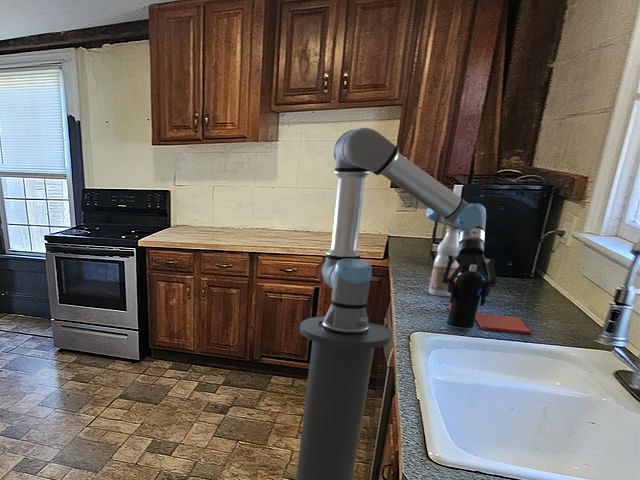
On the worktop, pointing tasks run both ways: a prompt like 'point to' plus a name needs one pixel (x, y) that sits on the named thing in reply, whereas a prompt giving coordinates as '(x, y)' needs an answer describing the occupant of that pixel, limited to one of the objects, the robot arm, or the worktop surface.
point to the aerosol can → (466, 299)
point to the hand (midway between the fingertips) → (467, 301)
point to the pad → (502, 323)
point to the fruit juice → (444, 262)
